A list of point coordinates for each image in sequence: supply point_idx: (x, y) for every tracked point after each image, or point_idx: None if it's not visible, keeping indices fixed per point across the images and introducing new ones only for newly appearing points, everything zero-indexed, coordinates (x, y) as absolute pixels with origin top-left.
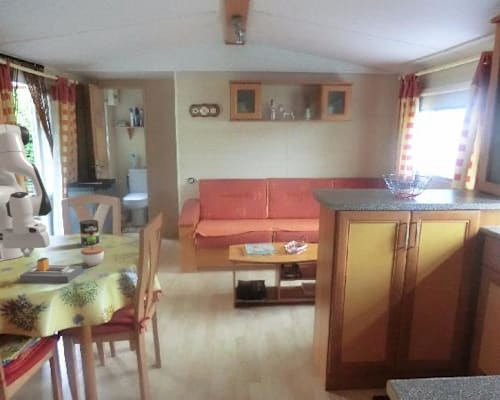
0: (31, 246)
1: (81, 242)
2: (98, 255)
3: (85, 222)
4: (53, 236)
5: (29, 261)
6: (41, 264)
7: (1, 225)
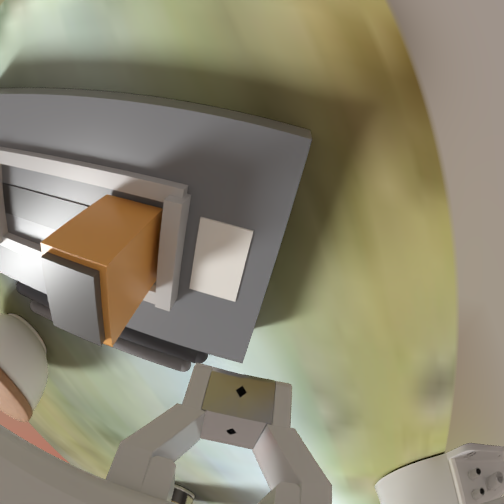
0: (44, 485)
1: (185, 500)
2: None
3: None
4: None
5: (346, 444)
6: (82, 230)
7: None
